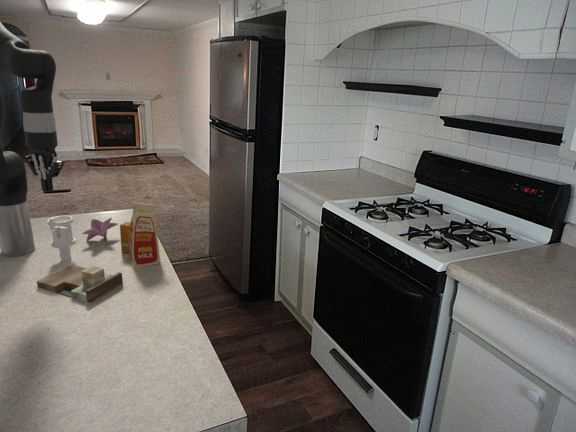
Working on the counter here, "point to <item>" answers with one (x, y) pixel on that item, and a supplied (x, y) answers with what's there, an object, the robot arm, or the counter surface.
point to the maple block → (93, 276)
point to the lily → (99, 228)
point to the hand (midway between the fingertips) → (47, 191)
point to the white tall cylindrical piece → (62, 236)
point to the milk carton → (143, 236)
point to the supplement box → (125, 237)
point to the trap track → (78, 284)
